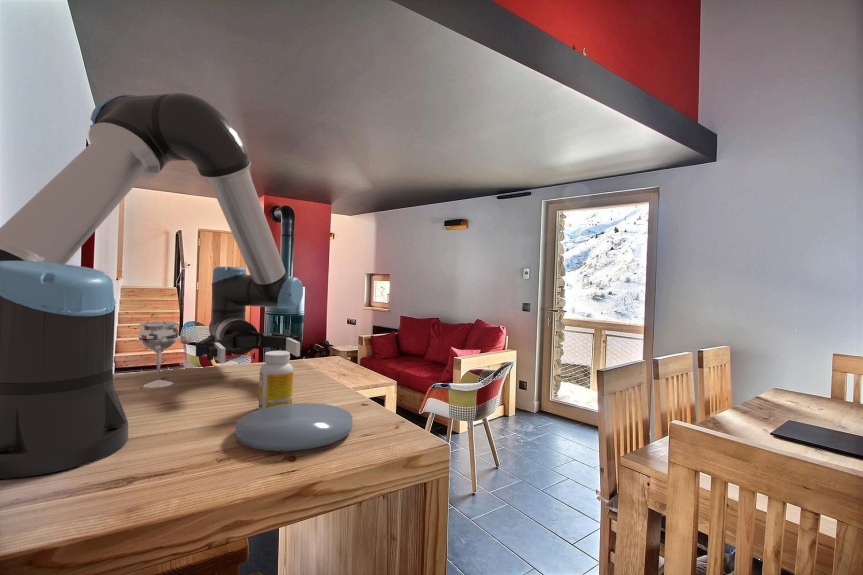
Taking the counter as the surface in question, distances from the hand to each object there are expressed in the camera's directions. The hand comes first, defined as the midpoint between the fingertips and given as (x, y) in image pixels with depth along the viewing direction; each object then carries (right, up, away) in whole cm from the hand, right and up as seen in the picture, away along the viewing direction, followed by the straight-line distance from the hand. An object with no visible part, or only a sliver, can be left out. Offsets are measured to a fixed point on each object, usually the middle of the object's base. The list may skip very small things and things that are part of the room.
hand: (262, 352), depth 81 cm
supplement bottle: (+5, -9, -8) cm, 13 cm away
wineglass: (-22, -7, +4) cm, 24 cm away
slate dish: (+12, -9, -19) cm, 24 cm away
